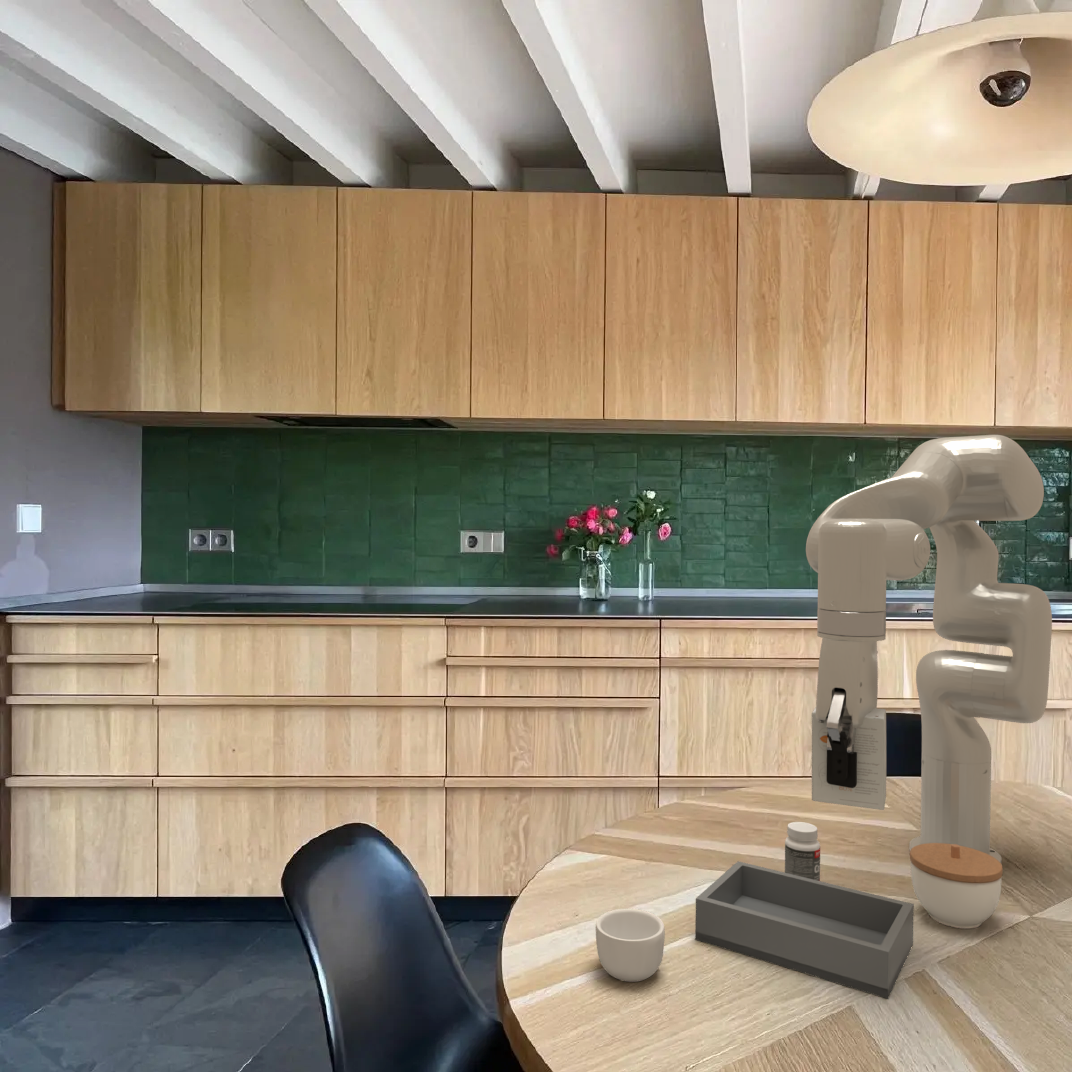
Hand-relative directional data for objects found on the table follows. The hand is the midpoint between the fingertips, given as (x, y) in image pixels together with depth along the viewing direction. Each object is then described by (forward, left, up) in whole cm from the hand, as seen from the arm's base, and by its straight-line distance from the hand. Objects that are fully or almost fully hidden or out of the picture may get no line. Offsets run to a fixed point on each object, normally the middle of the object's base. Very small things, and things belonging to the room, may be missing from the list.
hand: (849, 776), depth 98 cm
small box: (0, 0, -3) cm, 3 cm away
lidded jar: (-18, +9, -21) cm, 29 cm away
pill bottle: (-16, -10, -21) cm, 28 cm away
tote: (0, -5, -21) cm, 22 cm away
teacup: (+17, -19, -21) cm, 33 cm away
